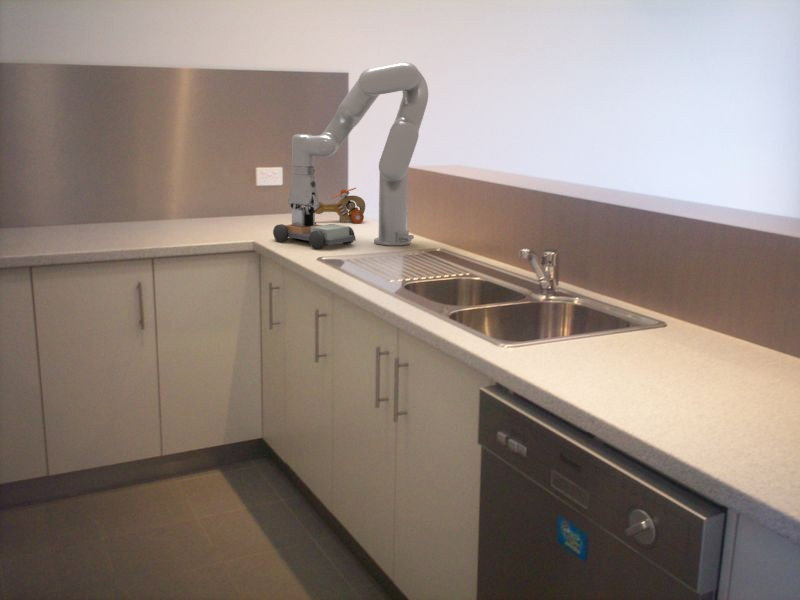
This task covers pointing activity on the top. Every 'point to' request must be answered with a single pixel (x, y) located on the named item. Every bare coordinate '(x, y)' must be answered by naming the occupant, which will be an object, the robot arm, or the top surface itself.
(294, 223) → the engine block
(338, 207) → the toy helicopter
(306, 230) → the chassis
